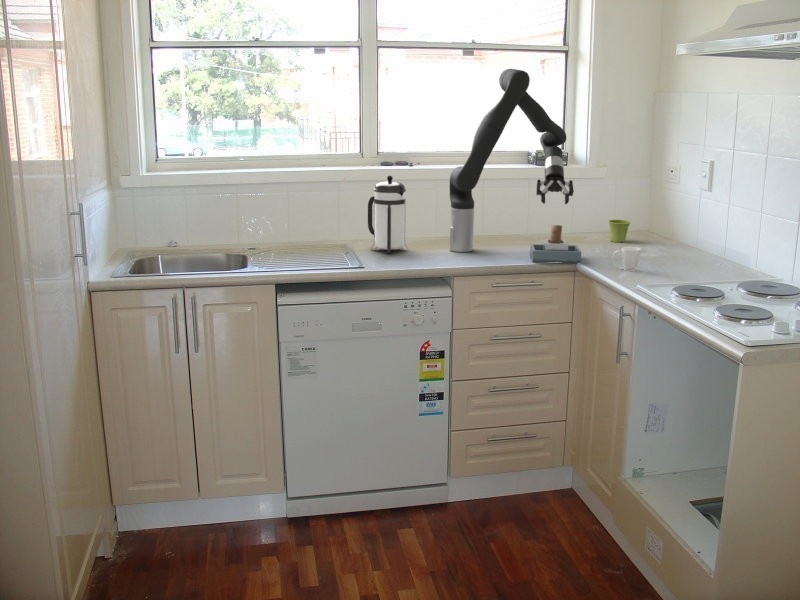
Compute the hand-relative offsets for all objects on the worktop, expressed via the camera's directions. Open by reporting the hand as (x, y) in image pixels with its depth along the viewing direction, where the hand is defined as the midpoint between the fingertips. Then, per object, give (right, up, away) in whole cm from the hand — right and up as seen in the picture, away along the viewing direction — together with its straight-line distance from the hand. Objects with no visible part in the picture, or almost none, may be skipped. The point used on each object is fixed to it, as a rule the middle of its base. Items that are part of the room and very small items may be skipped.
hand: (555, 202), depth 309 cm
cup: (+22, -27, -20) cm, 40 cm away
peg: (-1, -21, -4) cm, 22 cm away
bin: (-1, -22, -4) cm, 23 cm away
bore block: (-1, -22, -4) cm, 23 cm away
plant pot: (+33, -13, +32) cm, 48 cm away
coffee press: (-66, -18, +10) cm, 69 cm away
